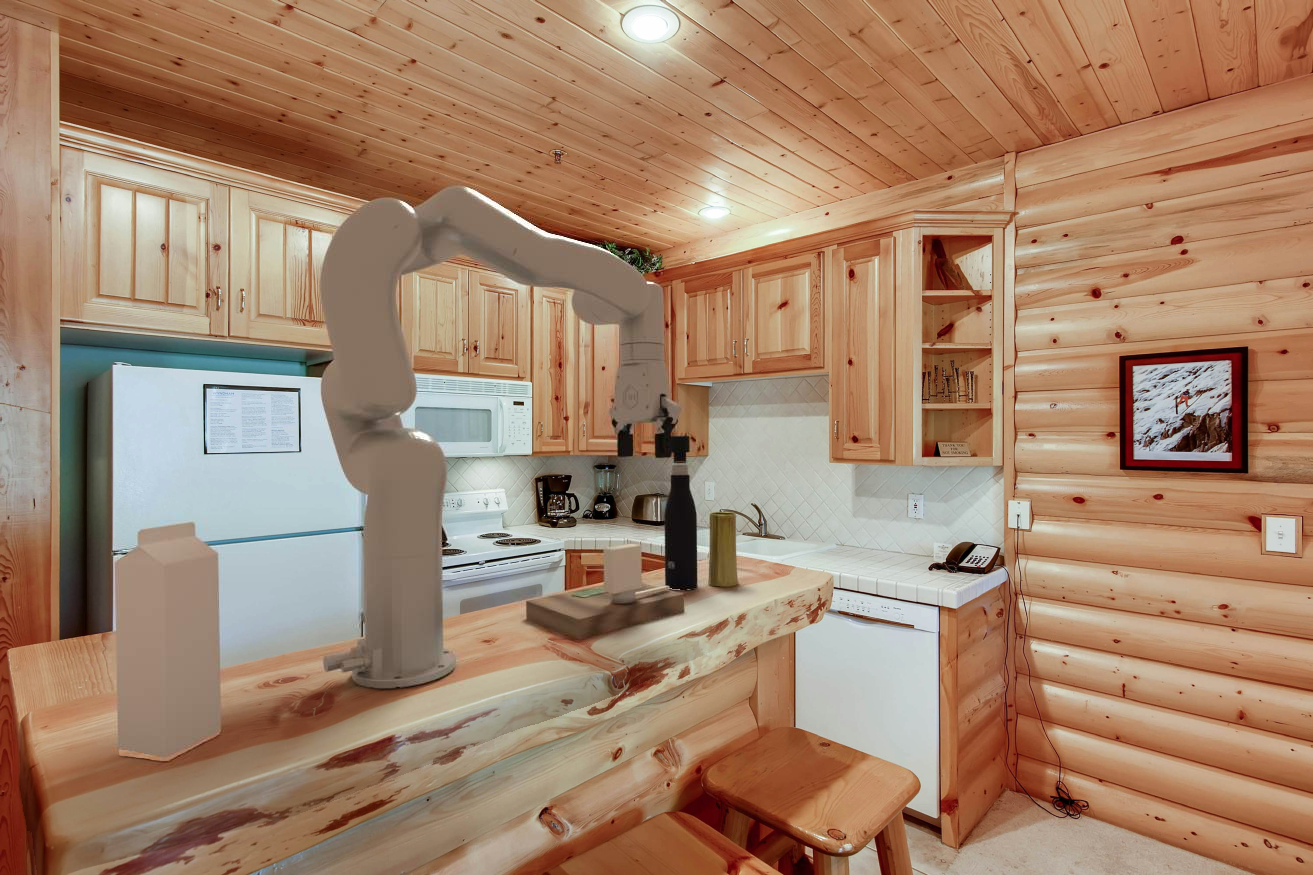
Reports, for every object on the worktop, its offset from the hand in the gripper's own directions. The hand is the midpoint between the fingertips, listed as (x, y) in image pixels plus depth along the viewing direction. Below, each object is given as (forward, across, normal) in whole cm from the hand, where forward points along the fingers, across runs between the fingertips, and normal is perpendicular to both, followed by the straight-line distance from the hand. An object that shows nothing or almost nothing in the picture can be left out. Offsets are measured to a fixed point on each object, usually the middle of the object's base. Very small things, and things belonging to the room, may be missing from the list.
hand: (643, 457), depth 112 cm
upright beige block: (+23, +1, -2) cm, 23 cm away
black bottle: (+27, -9, +17) cm, 33 cm away
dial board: (+26, -4, -6) cm, 27 cm away
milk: (+26, +3, -66) cm, 71 cm away
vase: (+27, -5, +25) cm, 37 cm away
